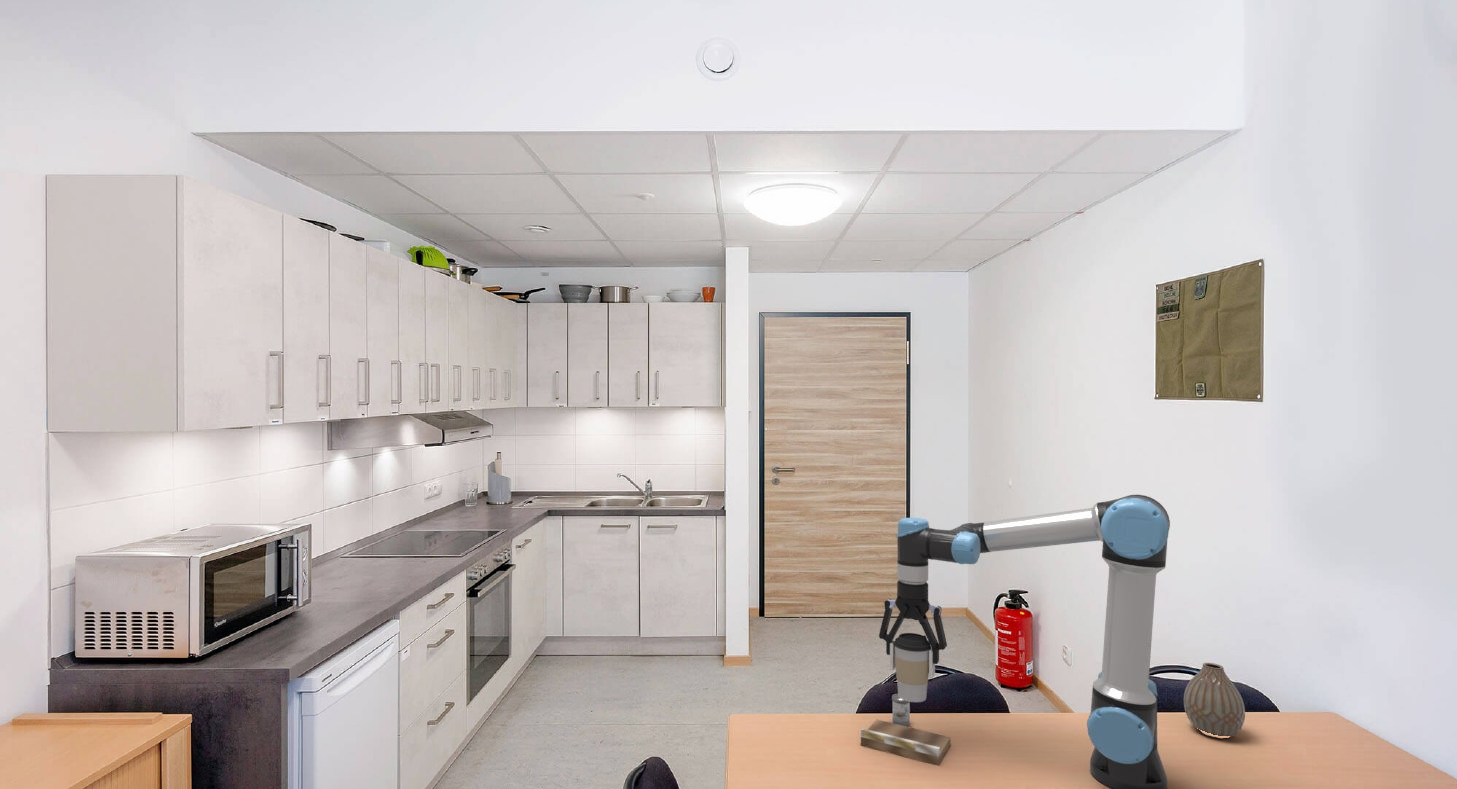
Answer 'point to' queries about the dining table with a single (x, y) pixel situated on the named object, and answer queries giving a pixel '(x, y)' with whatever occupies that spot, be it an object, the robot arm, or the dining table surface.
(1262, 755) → the dining table surface
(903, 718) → the tea tin
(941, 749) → the small brown box
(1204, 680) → the vase
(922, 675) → the coffee cup
